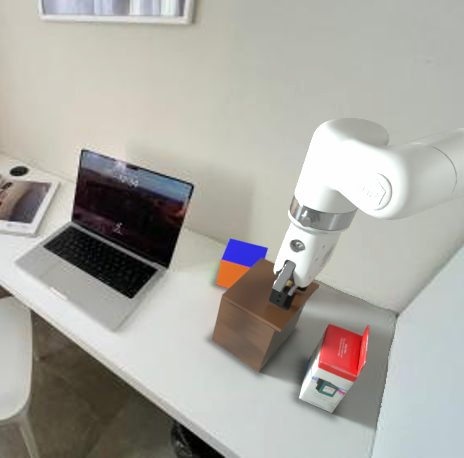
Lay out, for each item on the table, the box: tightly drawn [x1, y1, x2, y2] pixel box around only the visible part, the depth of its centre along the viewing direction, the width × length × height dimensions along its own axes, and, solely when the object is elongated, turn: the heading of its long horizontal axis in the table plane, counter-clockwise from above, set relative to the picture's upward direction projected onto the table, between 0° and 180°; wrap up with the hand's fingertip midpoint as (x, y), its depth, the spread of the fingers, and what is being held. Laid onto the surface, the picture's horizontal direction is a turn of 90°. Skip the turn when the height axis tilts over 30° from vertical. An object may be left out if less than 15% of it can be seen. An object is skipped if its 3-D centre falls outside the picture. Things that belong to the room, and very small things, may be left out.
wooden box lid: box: [221, 258, 320, 332], centre depth 62 cm, size 10×14×5 cm
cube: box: [215, 237, 269, 289], centre depth 81 cm, size 8×8×8 cm
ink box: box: [299, 323, 371, 414], centre depth 58 cm, size 8×5×15 cm, turn 144°
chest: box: [211, 297, 306, 373], centre depth 68 cm, size 10×14×13 cm
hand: (287, 295), depth 61 cm, fingers closed on wooden box lid, 5 cm apart
